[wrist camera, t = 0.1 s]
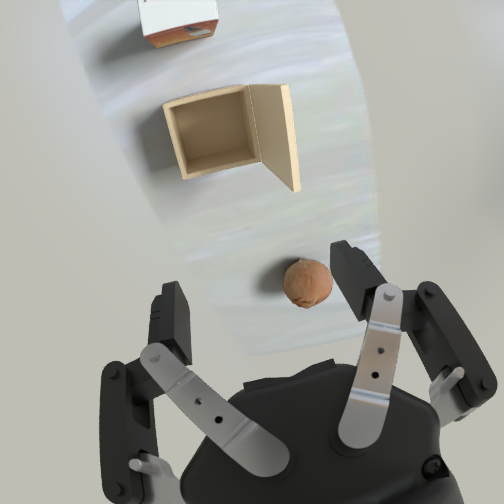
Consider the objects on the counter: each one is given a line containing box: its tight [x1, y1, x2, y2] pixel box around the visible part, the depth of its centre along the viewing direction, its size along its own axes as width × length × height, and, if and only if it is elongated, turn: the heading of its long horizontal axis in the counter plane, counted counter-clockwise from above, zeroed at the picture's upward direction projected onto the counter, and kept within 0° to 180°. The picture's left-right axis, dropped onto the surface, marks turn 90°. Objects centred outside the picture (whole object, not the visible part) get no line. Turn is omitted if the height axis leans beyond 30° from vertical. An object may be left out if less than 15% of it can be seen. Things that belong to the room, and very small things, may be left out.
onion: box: [283, 259, 333, 309], centre depth 51 cm, size 10×9×10 cm
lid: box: [249, 84, 301, 193], centre depth 25 cm, size 10×10×1 cm
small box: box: [137, 0, 219, 48], centre depth 21 cm, size 8×6×10 cm
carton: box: [163, 84, 261, 180], centre depth 32 cm, size 10×10×7 cm
